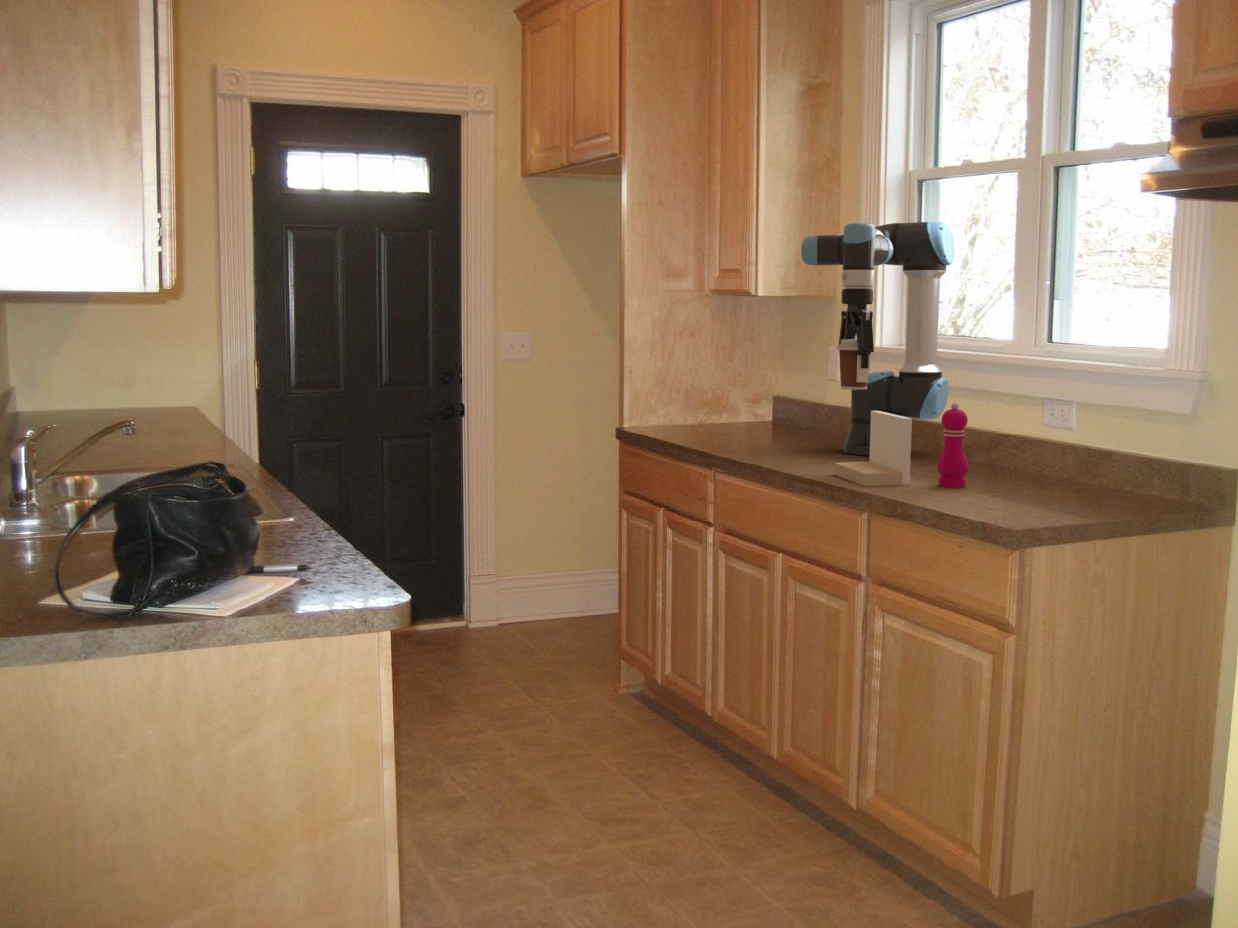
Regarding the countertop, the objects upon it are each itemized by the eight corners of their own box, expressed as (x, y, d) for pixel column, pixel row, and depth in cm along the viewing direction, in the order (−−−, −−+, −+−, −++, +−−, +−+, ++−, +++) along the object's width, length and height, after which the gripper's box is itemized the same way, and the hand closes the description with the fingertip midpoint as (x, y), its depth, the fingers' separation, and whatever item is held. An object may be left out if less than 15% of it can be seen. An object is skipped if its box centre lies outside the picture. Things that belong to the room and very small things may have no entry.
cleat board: (876, 473, 315) (878, 410, 312) (909, 484, 296) (911, 418, 294) (834, 474, 312) (835, 411, 310) (865, 486, 294) (867, 419, 292)
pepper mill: (951, 489, 290) (954, 404, 287) (930, 484, 296) (932, 401, 293) (974, 486, 293) (977, 403, 290) (953, 482, 299) (956, 400, 296)
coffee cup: (831, 389, 300) (832, 339, 298) (839, 387, 308) (841, 339, 307) (868, 390, 296) (870, 340, 295) (876, 388, 305) (877, 339, 303)
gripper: (826, 288, 309) (823, 378, 312) (860, 287, 288) (857, 383, 291) (854, 288, 310) (851, 378, 313) (890, 287, 289) (887, 383, 292)
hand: (854, 380), depth 302 cm, fingers closed on coffee cup, 9 cm apart
